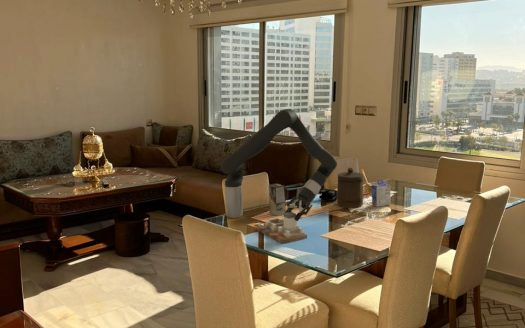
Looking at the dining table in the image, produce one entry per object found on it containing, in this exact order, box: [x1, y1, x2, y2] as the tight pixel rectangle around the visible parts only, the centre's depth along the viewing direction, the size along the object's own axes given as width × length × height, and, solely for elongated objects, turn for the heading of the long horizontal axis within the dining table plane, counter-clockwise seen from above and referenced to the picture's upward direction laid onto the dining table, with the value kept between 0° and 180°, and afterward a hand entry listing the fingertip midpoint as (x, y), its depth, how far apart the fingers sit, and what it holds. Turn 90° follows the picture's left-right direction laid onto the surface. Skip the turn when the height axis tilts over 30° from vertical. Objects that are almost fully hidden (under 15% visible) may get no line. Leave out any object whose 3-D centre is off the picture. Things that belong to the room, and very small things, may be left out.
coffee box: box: [268, 183, 287, 217], centre depth 269 cm, size 9×6×16 cm
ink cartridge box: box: [371, 179, 392, 208], centre depth 280 cm, size 10×6×14 cm, turn 112°
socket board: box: [255, 217, 308, 244], centre depth 236 cm, size 24×14×4 cm, turn 30°
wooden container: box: [336, 167, 364, 209], centre depth 282 cm, size 15×15×22 cm
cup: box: [295, 187, 303, 198], centre depth 283 cm, size 10×9×10 cm
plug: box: [282, 211, 297, 230], centre depth 231 cm, size 4×4×10 cm
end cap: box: [318, 187, 337, 203], centre depth 294 cm, size 10×7×7 cm
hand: (290, 217), depth 231 cm, fingers open, 8 cm apart
